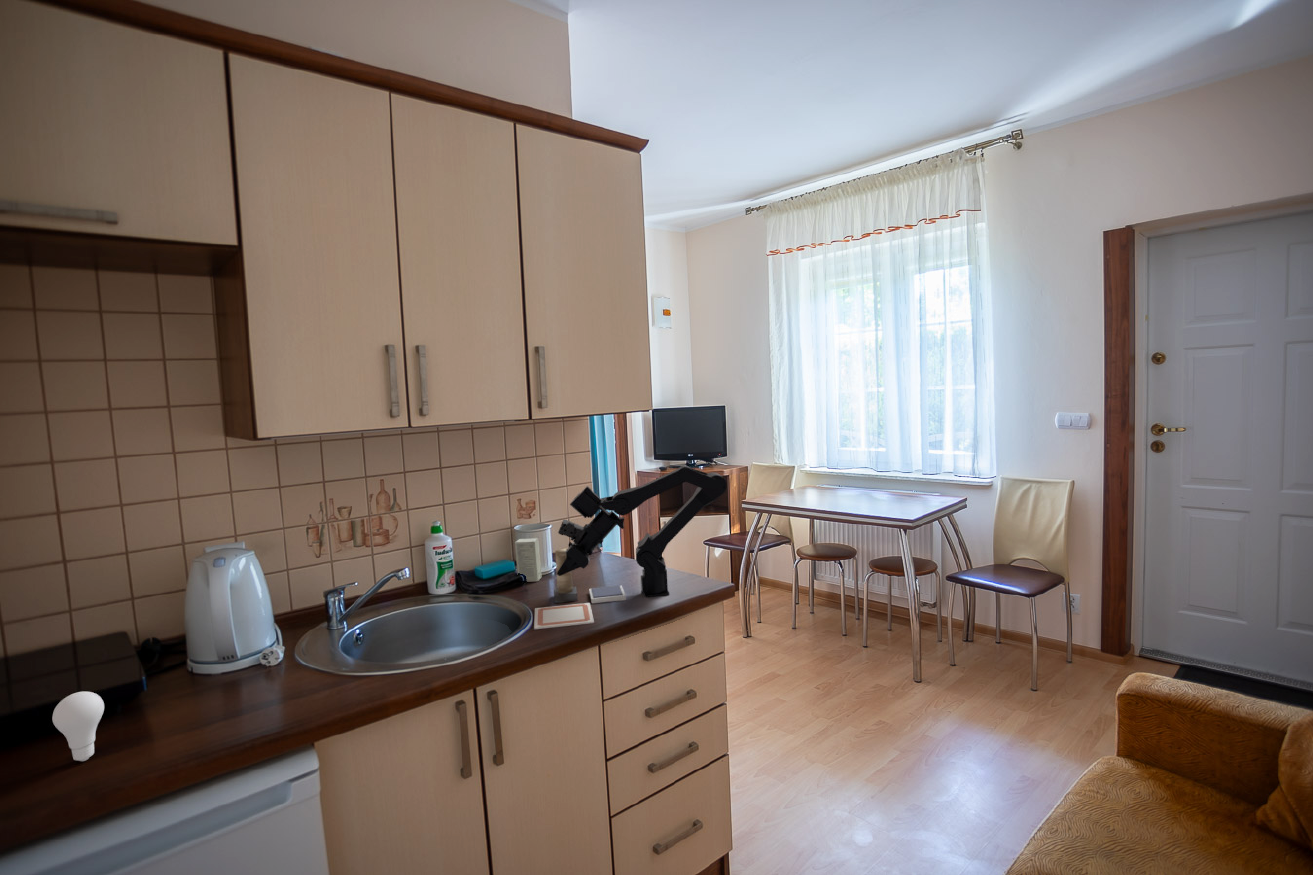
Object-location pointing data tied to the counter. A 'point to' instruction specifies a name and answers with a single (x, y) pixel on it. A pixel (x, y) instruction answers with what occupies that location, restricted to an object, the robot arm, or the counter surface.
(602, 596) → the ink pad
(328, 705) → the counter surface
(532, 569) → the skincare box
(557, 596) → the stamp
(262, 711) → the counter surface
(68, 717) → the lightbulb
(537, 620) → the board
